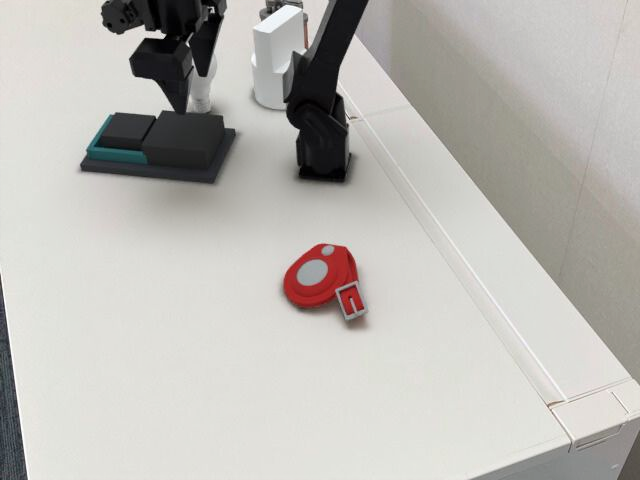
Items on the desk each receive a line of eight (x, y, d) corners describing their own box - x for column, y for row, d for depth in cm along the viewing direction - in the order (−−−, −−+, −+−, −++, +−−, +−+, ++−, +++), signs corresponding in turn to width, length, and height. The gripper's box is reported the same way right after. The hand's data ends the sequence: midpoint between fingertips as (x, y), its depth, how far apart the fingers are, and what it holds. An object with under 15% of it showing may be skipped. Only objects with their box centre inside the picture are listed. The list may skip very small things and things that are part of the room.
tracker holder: (266, 295, 89) (302, 229, 93) (280, 317, 93) (315, 252, 97) (357, 311, 83) (391, 240, 87) (369, 334, 87) (401, 265, 91)
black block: (159, 133, 112) (155, 115, 109) (145, 157, 108) (141, 139, 105) (120, 130, 112) (115, 111, 110) (104, 153, 108) (99, 135, 106)
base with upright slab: (276, 73, 125) (270, -1, 116) (323, 88, 121) (320, 13, 112) (243, 99, 119) (234, 23, 110) (291, 115, 116) (286, 38, 107)
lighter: (260, 59, 128) (254, -1, 120) (267, 50, 130) (262, -10, 122) (306, 66, 126) (303, 5, 118) (312, 56, 128) (310, -4, 121)
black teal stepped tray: (235, 134, 113) (232, 110, 110) (213, 183, 105) (208, 158, 102) (112, 123, 115) (106, 99, 112) (81, 170, 107) (73, 145, 104)
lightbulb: (221, 124, 115) (210, 54, 107) (178, 123, 115) (164, 53, 107) (226, 101, 119) (216, 32, 111) (185, 100, 119) (172, 32, 111)
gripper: (130, -69, 93) (156, 54, 105) (68, 0, 81) (104, 130, 93) (219, -64, 92) (235, 60, 104) (169, 7, 80) (193, 138, 91)
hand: (192, 94), depth 98 cm, fingers open, 9 cm apart
